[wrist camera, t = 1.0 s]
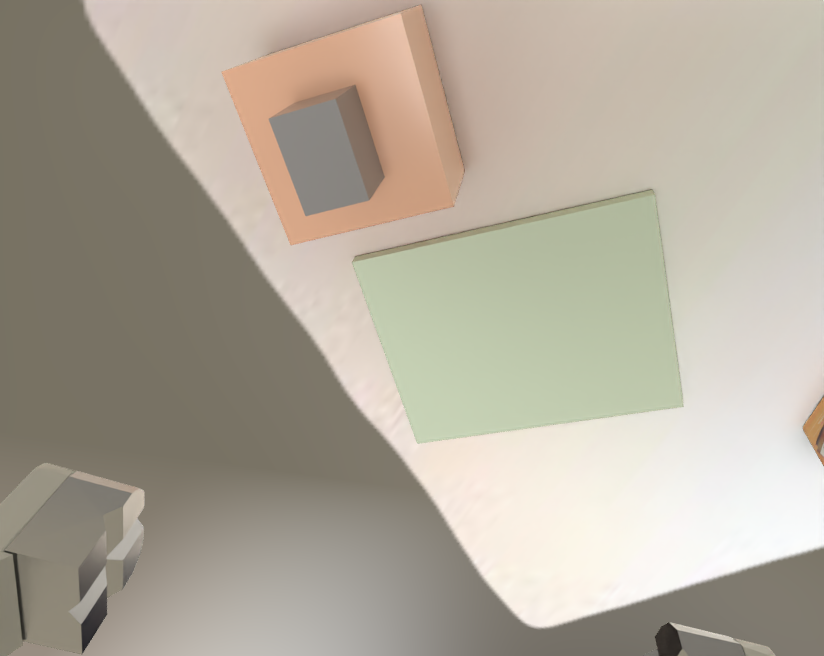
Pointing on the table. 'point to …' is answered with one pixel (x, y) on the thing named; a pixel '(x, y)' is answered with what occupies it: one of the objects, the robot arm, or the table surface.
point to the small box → (816, 430)
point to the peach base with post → (351, 127)
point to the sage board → (528, 321)
